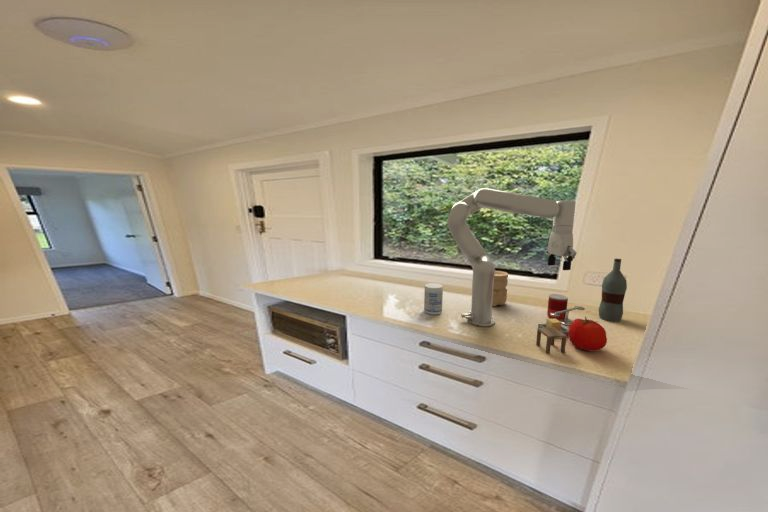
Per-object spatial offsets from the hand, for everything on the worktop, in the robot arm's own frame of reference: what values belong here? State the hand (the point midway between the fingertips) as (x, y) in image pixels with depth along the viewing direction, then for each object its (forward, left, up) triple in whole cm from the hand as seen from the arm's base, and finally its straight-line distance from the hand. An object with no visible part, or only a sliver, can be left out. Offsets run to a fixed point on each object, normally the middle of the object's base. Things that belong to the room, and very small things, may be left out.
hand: (558, 267), depth 124 cm
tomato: (0, -19, -28) cm, 34 cm away
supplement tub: (-50, +25, -28) cm, 63 cm away
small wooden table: (-14, -18, -28) cm, 36 cm away
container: (-12, +33, -28) cm, 45 cm away
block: (-4, -5, -27) cm, 28 cm away
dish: (-3, -5, -28) cm, 29 cm away
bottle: (+33, +5, -28) cm, 44 cm away
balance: (+8, +2, -28) cm, 29 cm away
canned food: (+9, +10, -28) cm, 32 cm away
